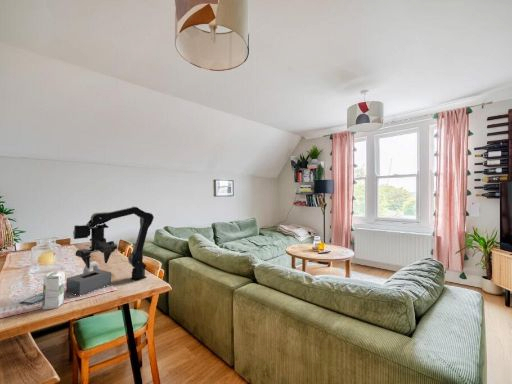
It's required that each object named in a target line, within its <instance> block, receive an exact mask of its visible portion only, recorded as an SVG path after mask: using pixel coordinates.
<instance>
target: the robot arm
mask: <svg viewBox="0 0 512 384" xmlns="http://www.w3.org/2000/svg"><path fill="white" fill-rule="evenodd" d="M130 215H135V216H137V217H139V225H140V226H139V230H138V234H137V238H136V241H135V246H134V249H133V251H132V252H129V255H128V258H127V260H128V264H129V265H131V266H132V271H131V277H130V278H129V279H130V280H134V281H141V280H143V279H146V278H147V276H146V275H145V274H146V273H145V272H146V268H147V264H146V263H144V262H143V258H144V256H143V249H144V247H145V242H146V238H147V234H148V230H149V228H150V227H151V225H152V223H153V220H154V218H155V216H154V214H152V213H151V212H146V211H144V210H142V209H140V208H139V207H138V206H131V207H128V208H127V207H126V208H123V209H119V210H113V211H107V212H106V211H105V212H104V211H103V212H95V213H93V214H92V215H91V216H90V220H88V221H87V223H86V224H82V225H78V224H77V225H75V224H74V227H73V231H72V232H73V233H72V234H73V235H72V237H73V239H74V240H79V239H88V237H90V236H91V237H90V238H89V241H90V246H89V249H88V248H81V249H76V251H75V256H76V257H79V258H80V259H81V260H82V261H83V263H84V266H87V268H90V262H91V261H90V260H91V257H92V255H91V254H92V253H96V252H100V253H103V259H104V263H105V264H108V261H109V259H110V256H111V255H112V253H114V252H115V250H117V249H118V245H117V244H116V243H115V241H114V240H112V241H111V240H110V241H107V239H106V238H105V229H108V228H109V226H108V225H107V223H108V222H110V221H111V220H113V219H114V220H115V219H118V218H119V219H120V218H122V217H123V218H124V217H126V216H130Z"/></svg>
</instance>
